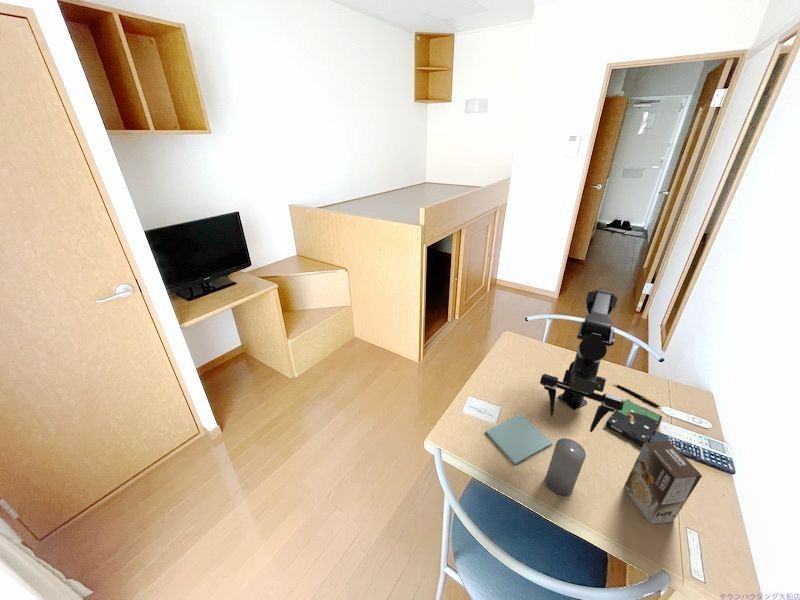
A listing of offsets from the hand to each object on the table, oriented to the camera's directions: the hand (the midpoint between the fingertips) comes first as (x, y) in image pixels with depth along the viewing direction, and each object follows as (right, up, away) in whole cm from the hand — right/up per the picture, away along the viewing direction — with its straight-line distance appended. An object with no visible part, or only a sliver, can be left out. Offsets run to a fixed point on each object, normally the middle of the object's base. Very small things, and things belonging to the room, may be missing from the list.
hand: (570, 424), depth 83 cm
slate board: (-9, -9, +12) cm, 17 cm away
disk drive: (+27, -7, +16) cm, 33 cm away
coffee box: (+16, -17, -5) cm, 24 cm away
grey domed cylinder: (-3, -15, 0) cm, 15 cm away
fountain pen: (+36, -1, +27) cm, 45 cm away
